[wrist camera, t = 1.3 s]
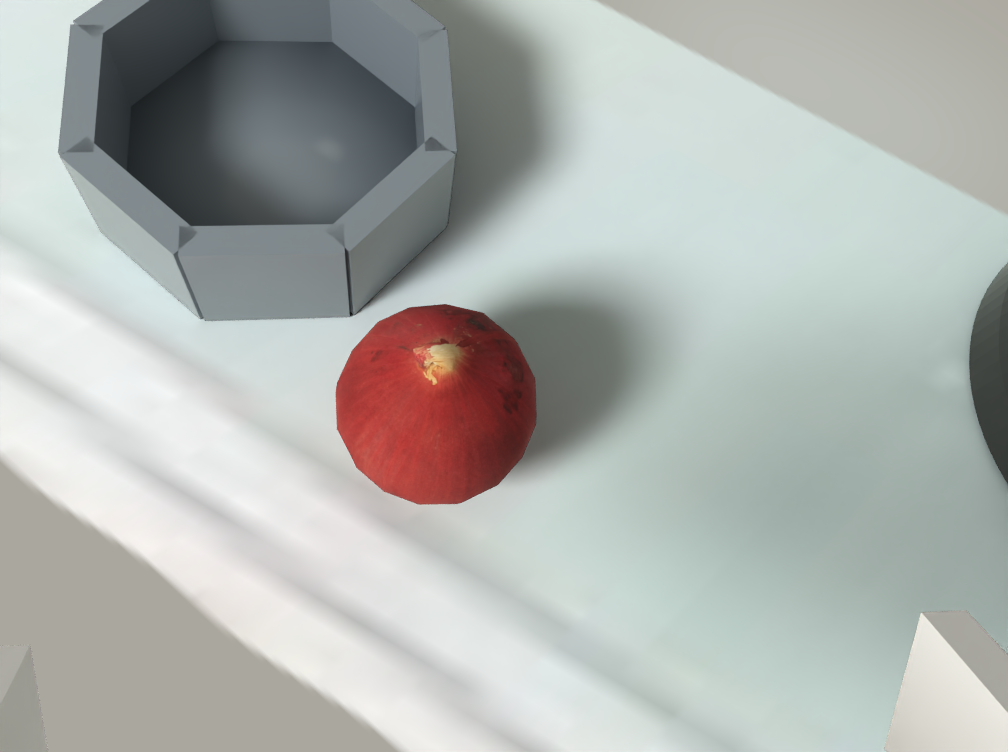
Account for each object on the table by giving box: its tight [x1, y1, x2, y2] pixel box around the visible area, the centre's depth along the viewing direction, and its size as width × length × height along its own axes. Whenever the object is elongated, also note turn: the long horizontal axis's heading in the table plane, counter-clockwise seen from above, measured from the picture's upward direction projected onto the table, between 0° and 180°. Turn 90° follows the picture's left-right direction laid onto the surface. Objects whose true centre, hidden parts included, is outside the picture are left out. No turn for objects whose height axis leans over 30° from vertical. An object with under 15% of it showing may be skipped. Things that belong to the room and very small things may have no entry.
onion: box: [336, 304, 536, 504], centre depth 28 cm, size 6×6×8 cm
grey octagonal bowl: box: [58, 0, 457, 321], centre depth 32 cm, size 12×12×4 cm
